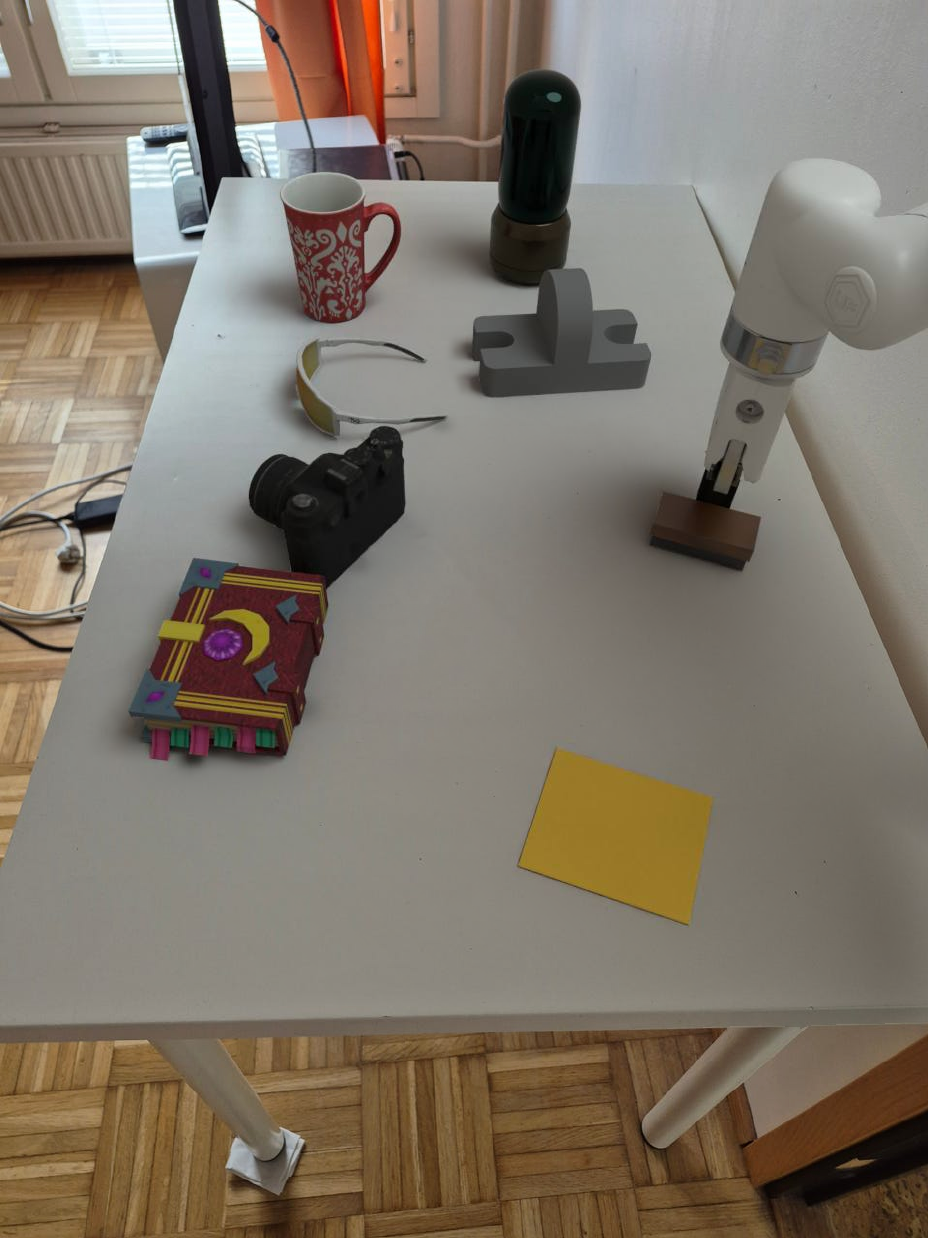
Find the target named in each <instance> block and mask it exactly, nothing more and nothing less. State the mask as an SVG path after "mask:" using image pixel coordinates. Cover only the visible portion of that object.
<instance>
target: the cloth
mask: <svg viewBox="0 0 928 1238" xmlns="http://www.w3.org/2000/svg"><path fill="white" fill-rule="evenodd" d="M552 758H553V759H552V760H551V763H550V766H549V770H548V774H547V776H546V779H545V783H544V785H543V788H542V791H541V794H540V798H539V801H538V804H537V806H536V810H535V813H534V816H533V819H532V822H531V825H530V829H529V831H528V834H527V837H526V840H525V844H524V847H523V849H522V852H521V856H520V858H519V862H518V865H517V867H518V868H521V869H524V870H527V871H530V872H532V873H535V874H538V875H541V876H543V877H547V878H550V879H553V880H556V881H558V882H562V883H564V884H567V885H571V886H573V887H576V888H579V889H581V890H585V891H588V892H591V893H594V894H596V895H600V896H602V897H605V898H608V899H611V900H613V901H617V902H620V903H622V904H625V905H628V906H630V907H634V908H637V909H640V910H643V911H646V912H648V913H651V914H653V915H654V914H655V915H658V916H660V917H663V918H666V919H668V920H672V921H675V922H677V923H680V924H684V925H687V926H689V925H690V921H691V916H692V911H693V906H694V901H695V897H696V895H695V894H696V890H697V884H698V879H699V875H700V869H701V864H702V858H703V854H704V848H705V844H706V838H707V832H708V828H709V823H710V817H711V810H712V806H713V801H714V797H713V796H709V795H706V794H703V793H700V792H696V791H694V790H690V789H687V788H684V787H681V786H678V785H675V784H671V783H668V782H665V781H661V780H659V779H656V778H653V777H649V776H647V775H643V774H640V773H637V772H634V771H630V770H628V769H625V768H621V767H618V766H615V765H612V764H608V763H605V762H602V761H600V760H597V759H593V758H590V757H586V756H583V755H580V754H577V753H575V752H571V751H567V750H564V749H561V748H558V747H556V748H555V752H554V755H553V757H552Z"/></svg>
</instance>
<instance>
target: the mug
mask: <svg viewBox="0 0 928 1238" xmlns="http://www.w3.org/2000/svg"><path fill="white" fill-rule="evenodd" d="M366 195H367V191H366V188H365V186H364V185H363V184H362V182H361V181H360V180H358V179H357V178H355V177H353V176H351V175H348V174H345V173H340V172H333V171H319V172H310V173H306V174H302V175H298V176H296V177H293V178H292V179H290V180H289V181H287V182H285V184H284V185H282V187H281V189H280V191H279V199H280V200H281V202H282V204H283V209H284V214H285V220H286V226H287V230H288V235H289V241H290V246H291V250H292V255H293V262H294V266H295V271H296V276H297V282H298V286H299V292H300V298H301V303H302V308H303V311H304V313H305V314H306V315H307V316H309V317H310V318H311V319H313V320H316V321H318V322H323V323H329V324H330V323H331V324H332V323H333V324H335V323H343V322H346V321H350V320H352V319H354V318H357V317H358V316H359V315H360V314H361V313H363V311H364V310H365V307H366V293H367V292H368V291H369V290H370V288H371V287H372V286H373V285H374V284H375V283H376V281H377V280H379V278H380V277H381V275H383V273H384V272H385V270H387V268H388V267H389V265H390V263H391V262H392V260H393V259H394V256H395V255H396V253H397V251H398V248H399V246H400V242H401V237H402V223H401V219H400V216H399V213H398V212H397V210H396V209H395V207H394V206H392V205H391V204H389V203H387V202H374V203H371V204H369V205H366V206H365V199H366ZM380 215H385V216H388V217H389V218H390V219H391V221H392V224H393V225H392V226H393V233H392V237H391V240H390V243H389V245H388V246H387V247H386V250H385V252H384V253H383V255H382V256H381V257H380V259H379V260H378V262H377V263H376V265H374V267H373V268H372V269H371V270H370V271H369V272H365V271H366V269H365V267H366V266H365V265H366V263H365V261H366V260H365V257H366V255H365V234H366V232H368V230H369V228H370V225H371V222H372V221H373V220H374V219H375V218H376V217H377V216H380Z"/></svg>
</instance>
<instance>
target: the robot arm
mask: <svg viewBox="0 0 928 1238" xmlns="http://www.w3.org/2000/svg"><path fill="white" fill-rule="evenodd" d="M881 205H882V193H881V190H880V186H879V184H878V183H877V181H876V180H875V179H874V178H873V176H872V175H870V174H869V173H868V172H867V171H865V170H863V169H862V168H860V167H858V166H856V165H853V164H851V163H849V162H845V161H842V160H837V159H834V158H826V157H806V158H801V159H797V160H794V161H791V162H789V163H788V164H786V165H784V166H783V167H782V168H780V169H779V171H778V172H776V174H775V175H774V176H773V178H772V180H771V182H770V183H769V185H768V188H767V191H766V193H765V196H764V199H763V202H762V205H761V209H760V213H759V215H758V218H757V222H756V225H755V229H754V231H753V234H752V238H751V241H750V243H749V248H748V251H747V254H746V257H745V260H744V264H743V266H742V270H741V273H740V276H739V280H738V283H737V286H736V289H735V292H734V295H733V299H732V302H731V306H730V308H729V312H728V314H727V318H726V322H725V325H724V328H723V331H722V335H721V337H720V341H719V348H720V351H721V353H722V355H723V356H724V358H725V359H726V360H727V361H728V362H729V363H728V366H727V369H726V372H725V374H724V378H723V381H722V385H721V387H720V391H719V396H718V399H717V402H716V407H715V411H714V415H713V419H712V423H711V428H710V432H709V437H708V443H707V447H706V452H705V457H704V463H703V466H704V471H703V475H702V477H701V480H700V483H699V486H698V488H697V492H696V496H695V498H694V499H695V500H699V501H703V502H706V503H710V504H714V505H718V506H721V507H725V508H729V509H731V506H732V504H733V501H734V498H735V496H736V493H737V491H738V488H739V486H740V483H741V477H742V474H743V480H744V481H745V482H748V483H751V484H755V483H757V482H759V481H760V480H761V477H762V474H763V472H764V469H765V466H766V463H767V461H768V458H769V456H770V453H771V450H772V447H773V444H774V442H775V439H776V438H777V434H778V432H779V429H780V427H781V425H782V421H783V419H784V416H785V414H786V410H787V408H788V406H789V405H788V404H789V402H790V399H791V396H792V394H793V390H794V387H795V384H796V380H797V379H799V378H803V377H804V376H806V375H808V374H809V373H810V372H811V371H813V369H814V368H815V367H816V364H817V362H818V359H819V357H820V354H821V351H822V349H823V347H824V345H825V342H826V340H827V338H828V335H829V333H831V334H832V335H833V336H834V337H835V338H836V339H838V340H839V341H840V342H842V343H844V344H846V345H847V346H848V347H851V348H854V349H857V350H860V351H878V350H883V349H886V348H889V347H892V346H895V345H897V344H899V343H901V342H903V341H906V340H908V339H909V338H912V337H914V336H915V335H918V334H919V333H921V332H924V331H926V330H927V329H928V202H925V203H923V204H920V205H918V206H916V207H914V208H910V209H909V210H905V211H903V212H901V213H898V214H896V215H887V216H884V215H883V216H878V215H879V213H880V209H881Z"/></svg>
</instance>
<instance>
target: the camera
mask: <svg viewBox="0 0 928 1238" xmlns="http://www.w3.org/2000/svg"><path fill="white" fill-rule="evenodd" d="M403 450H404V441H403V440H402V438H401V433H400V431H399V430H398V429H397V428H395V427H393V426H389V425H380V426H377V427H375V428H373V429H372V430H371V431H370V432H369V434H368V437H367V438H366V439H364V441H362V442H361V443H360V444H359V445H357V446H356V447H351V448H349V449H346V451H344V453H343V454H340V453H335V452H325V453H322V454H320V455H318V456H317V457H316V458H315V459H314V460H313V461H311V463H307V462H305V461H303V460H301V459H299V458H297V457H294V456H289V455H287V454H282V453H276V454H273V455H271V456H270V457H268V458H267V459H265V460H264V461H263V462H262V463H261V464H260V465H259V466H258V468H257V470H256V471H255V473H254V474H253V477H252V479H251V481H250V484H249V489H248V503H249V507H250V509H251V510H252V512H253V513H254V515H255V516H257V517H259V518H260V519H262V520H263V521H264V522H266V523H268V524H269V525H272V526H274V527H275V528H276V529H279V530H280V531H282V532H283V536H284V541H285V546H286V552H287V557H288V563H289V568H290V572H297V573H306V574H314V575H323V576H325V583H326V590H328V589H329V588H330V587H331V586H332V584H333V583H334V582H336V581H337V580H338V579H339V578H340V577H341V576H342V575H343V574H344V573H345V572H346V571H347V570H348V569H349V568H350V567H351V566H352V565H353V564H354V563H355V562H357V561H358V560H359V559H360V558H361V556H363V555H364V554H365V553H366V552H367V551H368V550H369V548H370V547H371V546H372V545H374V544H375V543H376V542H378V540H380V539H381V537H382V536H383V535H384V534H385V533H386V532H387V531H388V530H389V529H391V528H393V526H394V525H395V524H396V523H397V522H398V521H399V520H400V519H401V518H402V516H403V515H404V514H405V510H406V503H407V502H406V486H405V481H406V480H405V458H404V455H403Z"/></svg>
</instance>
